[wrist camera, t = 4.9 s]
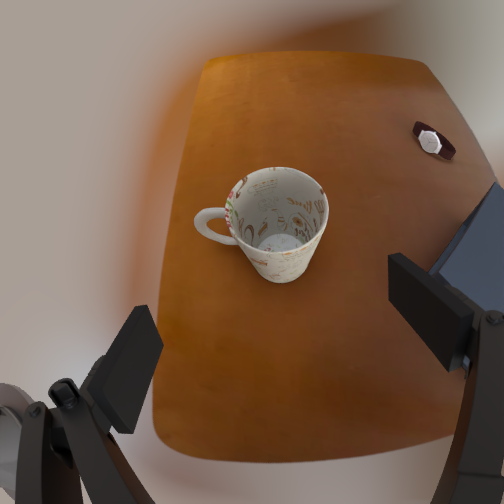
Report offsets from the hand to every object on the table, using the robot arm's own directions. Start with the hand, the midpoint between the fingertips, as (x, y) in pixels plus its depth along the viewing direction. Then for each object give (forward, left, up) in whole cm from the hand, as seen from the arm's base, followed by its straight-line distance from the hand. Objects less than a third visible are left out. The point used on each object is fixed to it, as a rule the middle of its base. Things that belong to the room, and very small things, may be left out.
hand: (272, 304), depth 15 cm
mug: (+5, +8, -15) cm, 18 cm away
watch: (+36, +5, -15) cm, 39 cm away
